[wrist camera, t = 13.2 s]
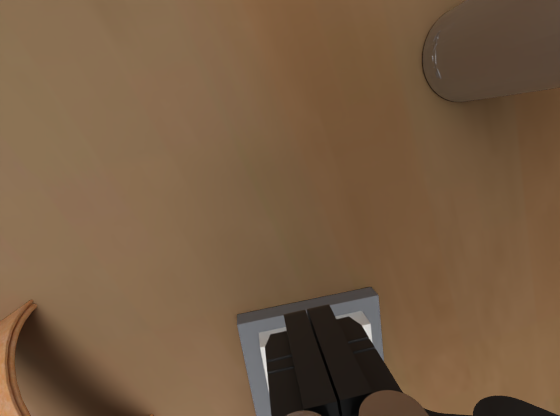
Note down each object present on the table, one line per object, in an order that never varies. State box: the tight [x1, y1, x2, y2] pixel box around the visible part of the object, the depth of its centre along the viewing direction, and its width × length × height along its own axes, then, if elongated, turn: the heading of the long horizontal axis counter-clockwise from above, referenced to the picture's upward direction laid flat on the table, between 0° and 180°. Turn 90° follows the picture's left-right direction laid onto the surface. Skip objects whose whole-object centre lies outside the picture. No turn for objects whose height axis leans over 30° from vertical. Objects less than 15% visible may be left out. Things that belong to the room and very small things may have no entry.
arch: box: [0, 299, 154, 416], centre depth 30 cm, size 6×20×10 cm, turn 34°
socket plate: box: [237, 287, 384, 416], centre depth 36 cm, size 16×16×4 cm
